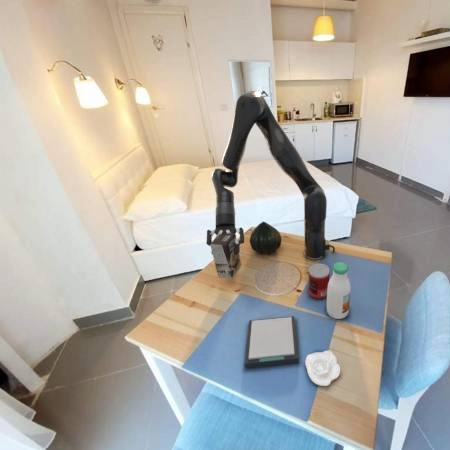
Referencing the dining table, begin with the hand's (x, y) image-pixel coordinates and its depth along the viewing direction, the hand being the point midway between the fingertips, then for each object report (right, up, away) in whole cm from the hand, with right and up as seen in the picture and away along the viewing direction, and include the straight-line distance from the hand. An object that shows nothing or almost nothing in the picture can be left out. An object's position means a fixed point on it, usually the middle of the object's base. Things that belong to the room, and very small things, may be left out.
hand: (225, 255), depth 96 cm
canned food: (+36, -15, +1) cm, 39 cm away
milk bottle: (+42, -19, -8) cm, 47 cm away
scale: (+20, -25, -18) cm, 37 cm away
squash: (+12, -1, +27) cm, 30 cm away
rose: (+35, -29, -26) cm, 52 cm away
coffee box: (0, -7, +6) cm, 9 cm away
